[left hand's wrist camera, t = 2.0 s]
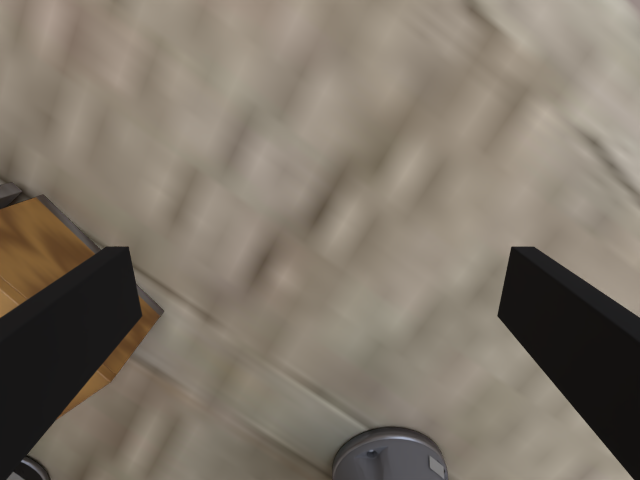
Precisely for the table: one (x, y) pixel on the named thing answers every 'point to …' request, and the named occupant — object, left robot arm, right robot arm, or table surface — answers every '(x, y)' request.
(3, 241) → the tan rectangular mottled block
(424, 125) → the table surface
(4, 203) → the drawer
